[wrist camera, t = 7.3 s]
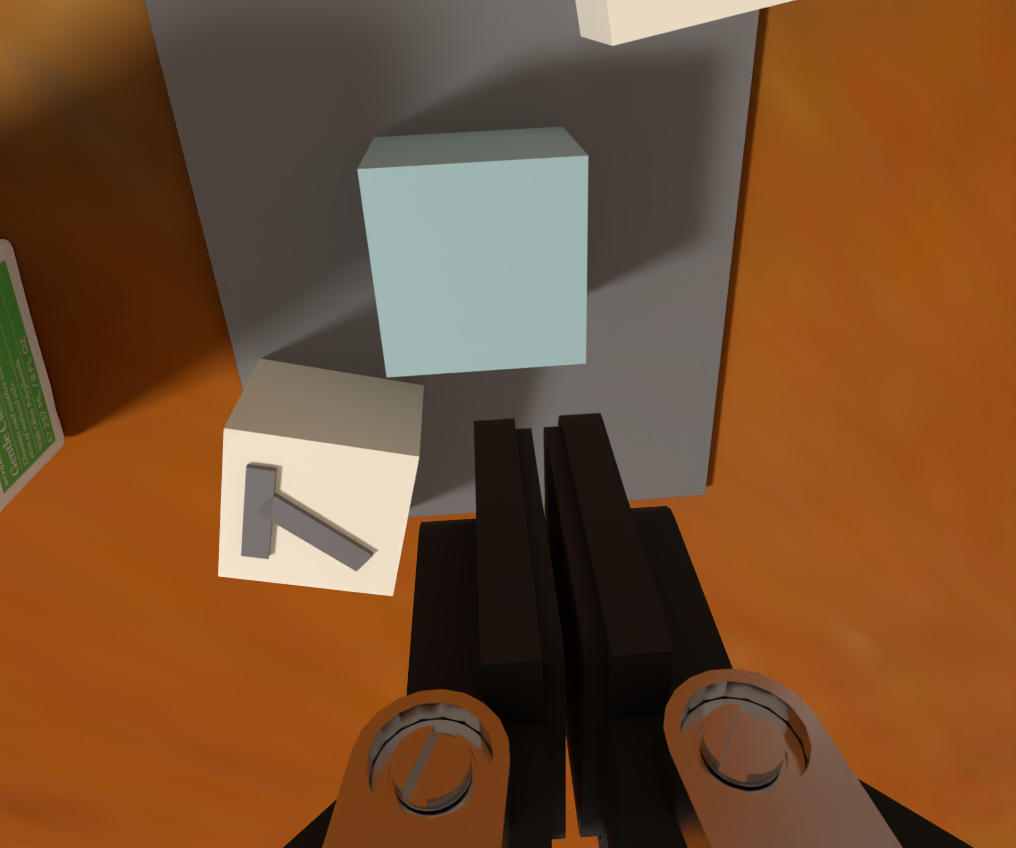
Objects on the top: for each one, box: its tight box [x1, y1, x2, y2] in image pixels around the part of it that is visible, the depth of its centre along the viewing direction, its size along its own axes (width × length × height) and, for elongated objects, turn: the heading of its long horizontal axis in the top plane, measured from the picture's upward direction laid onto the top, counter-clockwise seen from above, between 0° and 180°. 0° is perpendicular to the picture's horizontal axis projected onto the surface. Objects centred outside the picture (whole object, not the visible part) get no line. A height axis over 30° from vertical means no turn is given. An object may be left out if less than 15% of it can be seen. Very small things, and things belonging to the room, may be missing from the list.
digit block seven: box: [218, 359, 424, 596], centre depth 26 cm, size 6×6×5 cm
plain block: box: [357, 126, 588, 377], centre depth 23 cm, size 6×6×5 cm
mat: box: [144, 0, 759, 517], centre depth 25 cm, size 18×24×1 cm
